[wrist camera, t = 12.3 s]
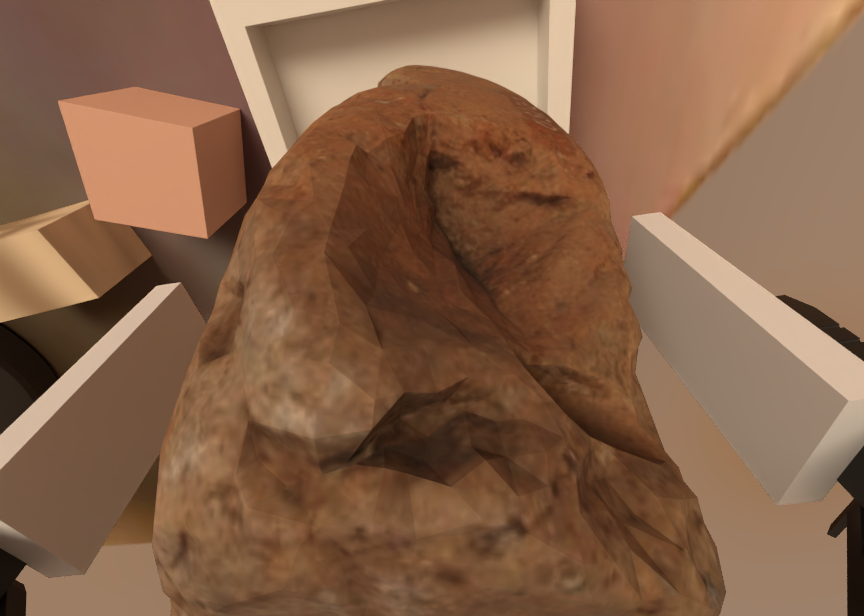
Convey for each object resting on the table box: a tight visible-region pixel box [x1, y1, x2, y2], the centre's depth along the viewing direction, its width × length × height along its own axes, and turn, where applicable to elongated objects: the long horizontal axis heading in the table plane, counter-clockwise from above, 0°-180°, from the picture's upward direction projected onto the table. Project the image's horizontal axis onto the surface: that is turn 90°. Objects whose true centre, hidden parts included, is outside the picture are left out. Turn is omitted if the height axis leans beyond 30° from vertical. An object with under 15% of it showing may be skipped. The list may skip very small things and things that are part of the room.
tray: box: [209, 0, 576, 168], centre depth 21 cm, size 14×17×3 cm
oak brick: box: [0, 200, 152, 323], centre depth 22 cm, size 8×4×5 cm, turn 105°
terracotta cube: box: [58, 87, 247, 239], centre depth 19 cm, size 5×5×5 cm
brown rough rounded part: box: [152, 65, 726, 616], centre depth 13 cm, size 11×8×20 cm
